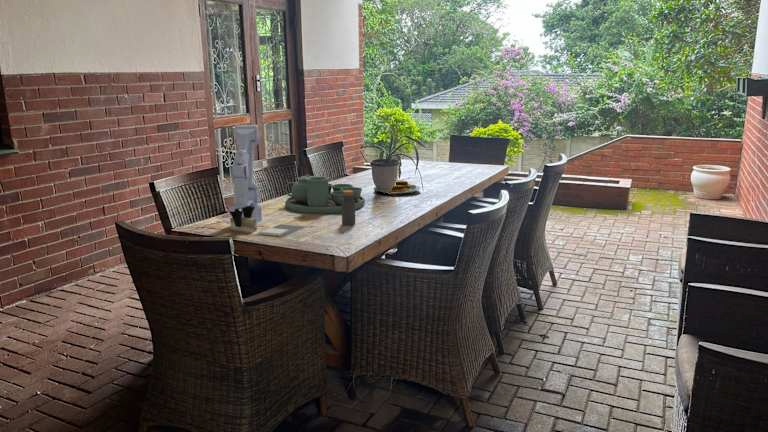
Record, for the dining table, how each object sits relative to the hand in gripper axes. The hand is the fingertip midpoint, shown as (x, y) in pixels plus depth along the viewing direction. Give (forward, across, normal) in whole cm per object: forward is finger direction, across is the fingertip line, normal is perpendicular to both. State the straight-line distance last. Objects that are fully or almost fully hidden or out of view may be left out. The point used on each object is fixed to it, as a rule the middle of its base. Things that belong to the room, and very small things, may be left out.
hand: (243, 224), depth 255 cm
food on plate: (+3, +108, -28) cm, 112 cm away
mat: (+3, +5, -16) cm, 17 cm away
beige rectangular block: (+3, 0, 0) cm, 3 cm away
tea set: (+3, +61, -7) cm, 61 cm away
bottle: (+3, +28, -36) cm, 46 cm away
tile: (+2, 0, -11) cm, 11 cm away
